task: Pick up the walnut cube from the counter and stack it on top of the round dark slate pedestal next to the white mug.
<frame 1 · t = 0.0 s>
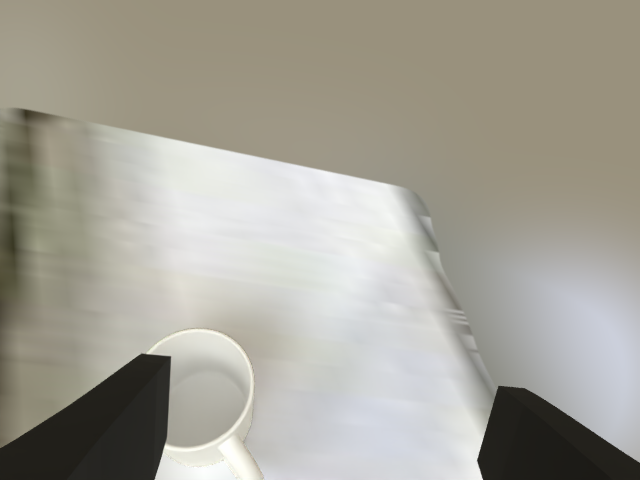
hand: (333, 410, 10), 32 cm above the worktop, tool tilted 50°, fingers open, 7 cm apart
mug: (216, 434, 39), on the worktop
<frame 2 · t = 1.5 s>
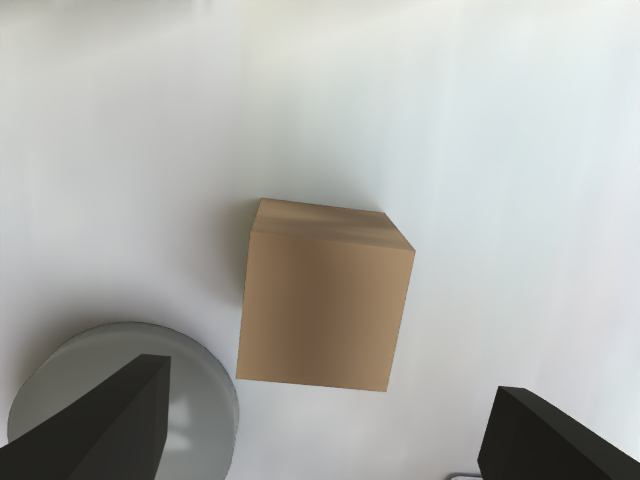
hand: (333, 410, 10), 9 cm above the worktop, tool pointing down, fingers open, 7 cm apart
slate pedestal: (138, 412, 20), on the worktop
walnut cube: (315, 263, 19), on the worktop
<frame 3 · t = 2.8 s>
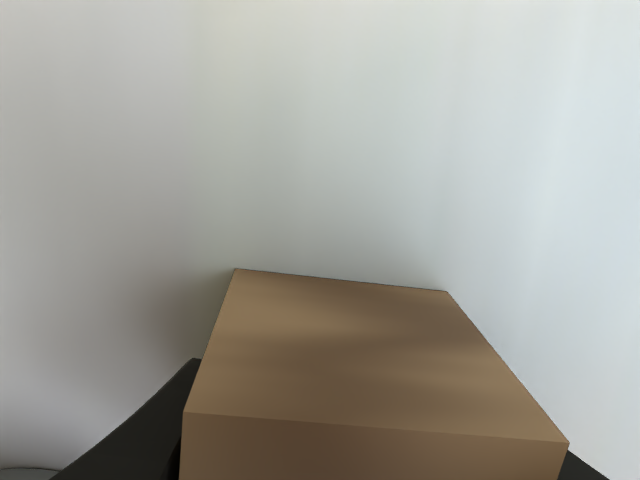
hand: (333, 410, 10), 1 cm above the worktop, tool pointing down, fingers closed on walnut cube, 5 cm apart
walnut cube: (328, 373, 11), on the worktop, touching gripper
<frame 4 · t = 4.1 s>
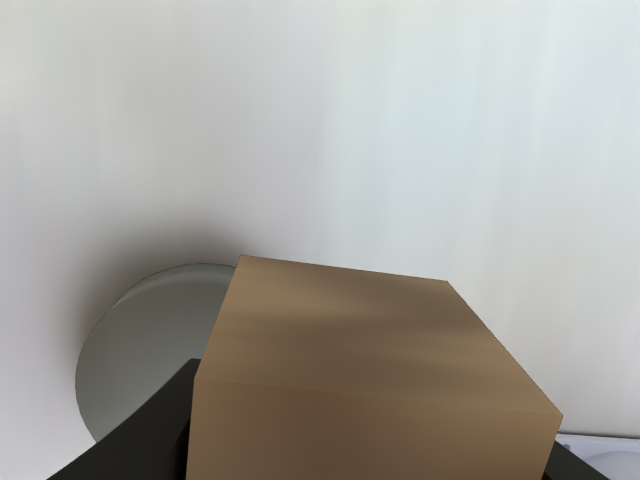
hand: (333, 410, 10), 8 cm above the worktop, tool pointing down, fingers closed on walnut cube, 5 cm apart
slate pedestal: (209, 365, 19), on the worktop
walnut cube: (329, 360, 11), point 7 cm above the worktop, touching gripper
when the fingers open (5 cm above the worktop, at t = 5.6 s): walnut cube drops 1 cm, resting on slate pedestal.
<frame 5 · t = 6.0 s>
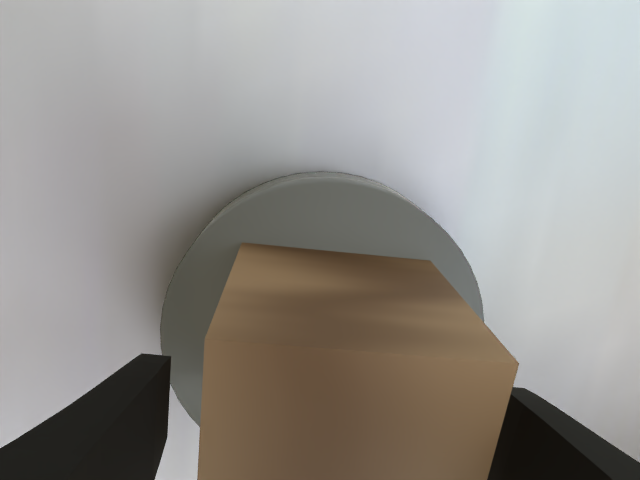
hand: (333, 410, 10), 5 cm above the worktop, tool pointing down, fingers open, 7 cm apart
slate pedestal: (321, 311, 15), on the worktop
walnut cube: (326, 336, 13), point 2 cm above the worktop, touching slate pedestal
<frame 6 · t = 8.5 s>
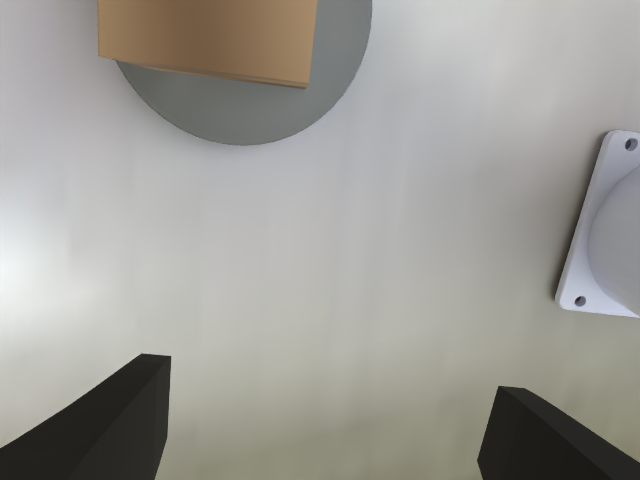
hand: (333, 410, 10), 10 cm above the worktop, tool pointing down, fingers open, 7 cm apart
slate pedestal: (244, 18, 17), on the worktop
walnut cube: (238, 0, 15), point 2 cm above the worktop, touching slate pedestal
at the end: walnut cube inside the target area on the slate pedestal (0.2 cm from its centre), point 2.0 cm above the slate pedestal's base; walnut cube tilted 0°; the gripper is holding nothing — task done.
